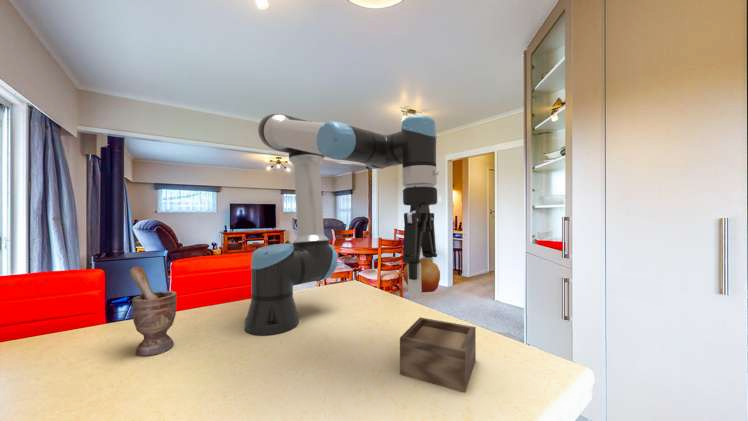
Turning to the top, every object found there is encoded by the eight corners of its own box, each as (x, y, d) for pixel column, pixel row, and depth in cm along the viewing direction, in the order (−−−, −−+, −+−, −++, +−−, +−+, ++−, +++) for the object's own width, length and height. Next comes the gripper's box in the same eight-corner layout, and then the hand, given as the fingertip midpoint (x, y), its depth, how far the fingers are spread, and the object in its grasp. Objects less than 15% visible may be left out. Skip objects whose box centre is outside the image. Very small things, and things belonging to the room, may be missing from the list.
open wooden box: (399, 374, 59) (399, 337, 59) (420, 348, 71) (419, 317, 71) (465, 392, 53) (465, 351, 53) (475, 360, 65) (475, 326, 65)
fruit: (437, 278, 69) (438, 252, 65) (441, 304, 63) (442, 276, 59) (403, 278, 70) (402, 252, 66) (403, 303, 64) (402, 276, 60)
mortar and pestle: (108, 359, 66) (108, 270, 66) (136, 342, 74) (137, 264, 74) (161, 357, 66) (162, 270, 67) (183, 340, 75) (184, 263, 75)
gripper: (420, 181, 53) (422, 305, 53) (447, 189, 72) (449, 281, 71) (384, 184, 57) (385, 300, 56) (419, 191, 75) (420, 279, 75)
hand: (421, 289), depth 64 cm, fingers closed on fruit, 8 cm apart
